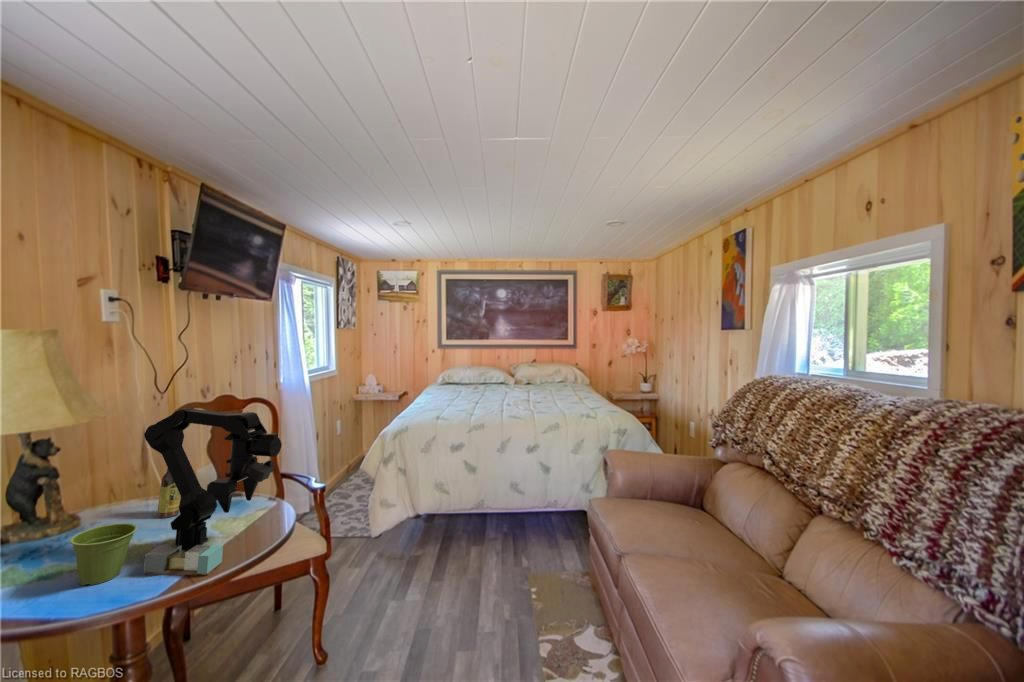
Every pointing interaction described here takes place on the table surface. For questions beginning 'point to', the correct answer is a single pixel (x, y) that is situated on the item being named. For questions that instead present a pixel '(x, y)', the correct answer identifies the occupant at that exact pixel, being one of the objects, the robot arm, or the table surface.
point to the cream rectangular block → (186, 558)
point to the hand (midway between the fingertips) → (238, 506)
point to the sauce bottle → (168, 497)
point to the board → (177, 572)
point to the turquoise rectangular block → (210, 559)
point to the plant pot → (102, 551)
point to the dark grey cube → (159, 558)
